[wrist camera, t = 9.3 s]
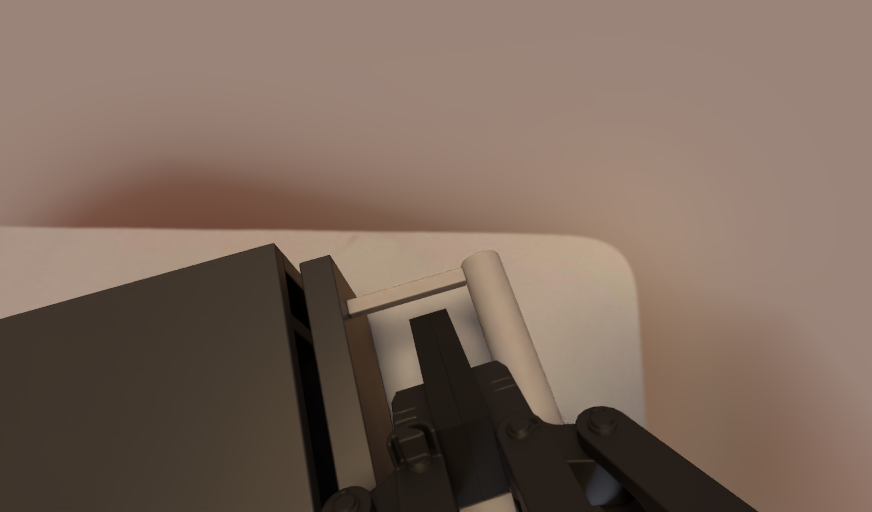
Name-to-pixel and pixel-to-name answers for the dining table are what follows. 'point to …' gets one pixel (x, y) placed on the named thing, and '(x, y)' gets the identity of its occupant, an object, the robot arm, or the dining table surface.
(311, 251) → the dining table surface
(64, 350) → the grey drawer box
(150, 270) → the dining table surface
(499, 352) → the open sliding drawer
